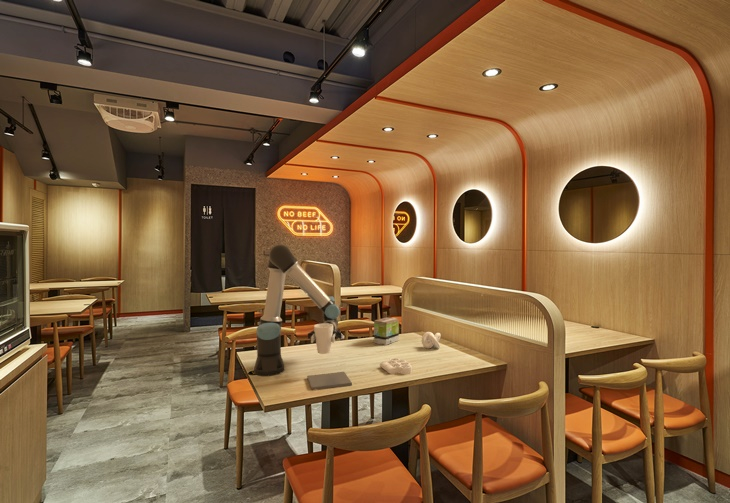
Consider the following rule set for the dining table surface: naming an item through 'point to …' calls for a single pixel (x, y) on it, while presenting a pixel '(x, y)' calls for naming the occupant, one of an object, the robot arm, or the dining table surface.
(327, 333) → the foam cup
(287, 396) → the dining table surface
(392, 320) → the tea box
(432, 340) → the pretzel
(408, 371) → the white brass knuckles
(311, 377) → the tile
